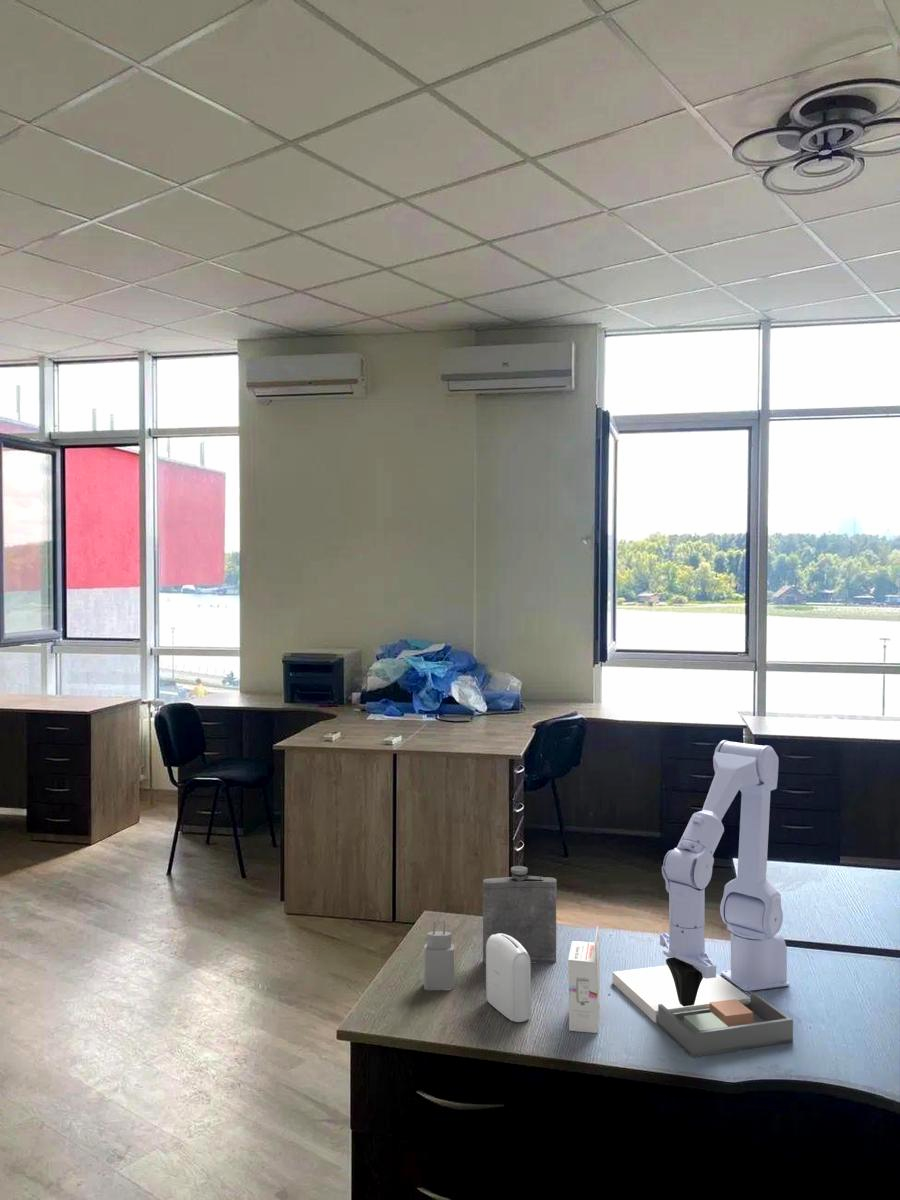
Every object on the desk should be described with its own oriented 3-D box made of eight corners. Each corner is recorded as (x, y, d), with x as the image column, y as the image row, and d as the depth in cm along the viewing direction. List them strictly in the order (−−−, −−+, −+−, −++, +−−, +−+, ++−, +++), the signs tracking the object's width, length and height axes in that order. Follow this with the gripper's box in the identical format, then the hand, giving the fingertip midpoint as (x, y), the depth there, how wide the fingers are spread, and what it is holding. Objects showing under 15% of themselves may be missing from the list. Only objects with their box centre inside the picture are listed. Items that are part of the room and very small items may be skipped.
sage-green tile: (728, 1026, 139) (728, 1040, 139) (711, 1012, 144) (711, 1025, 144) (700, 1030, 138) (700, 1044, 138) (683, 1016, 143) (683, 1029, 143)
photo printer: (482, 1000, 154) (482, 929, 154) (504, 995, 156) (504, 925, 156) (512, 1025, 145) (512, 950, 145) (534, 1020, 147) (534, 946, 147)
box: (751, 1010, 151) (751, 990, 151) (792, 1041, 140) (792, 1019, 140) (656, 1024, 146) (656, 1002, 146) (691, 1057, 135) (691, 1034, 135)
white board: (699, 971, 166) (699, 961, 166) (750, 1009, 151) (750, 998, 151) (612, 982, 161) (612, 971, 161) (655, 1023, 146) (655, 1011, 146)
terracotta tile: (736, 1012, 149) (736, 999, 149) (753, 1026, 144) (753, 1012, 144) (709, 1015, 148) (709, 1002, 148) (725, 1029, 143) (725, 1016, 143)
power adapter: (424, 982, 161) (424, 917, 161) (453, 982, 161) (454, 917, 162) (423, 990, 158) (424, 923, 158) (454, 990, 158) (454, 923, 158)
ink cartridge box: (570, 1007, 152) (571, 922, 152) (600, 1010, 151) (600, 924, 151) (567, 1031, 143) (567, 940, 143) (598, 1034, 142) (598, 943, 142)
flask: (481, 957, 173) (481, 865, 173) (553, 955, 174) (554, 864, 174) (483, 965, 169) (483, 871, 169) (557, 963, 170) (557, 870, 170)
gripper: (644, 910, 153) (644, 988, 153) (688, 941, 139) (688, 1027, 139) (680, 906, 155) (680, 983, 155) (727, 936, 141) (727, 1021, 141)
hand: (686, 1004), depth 147 cm, fingers closed
